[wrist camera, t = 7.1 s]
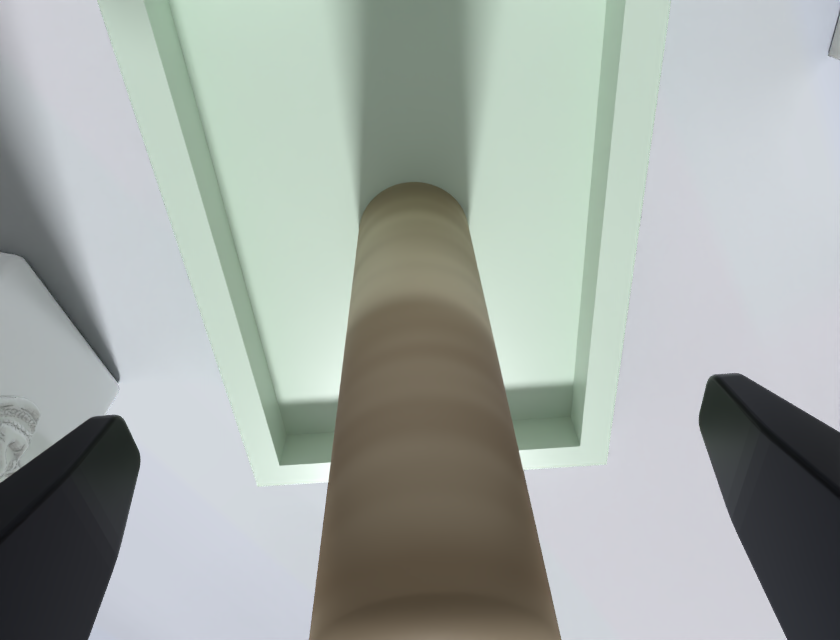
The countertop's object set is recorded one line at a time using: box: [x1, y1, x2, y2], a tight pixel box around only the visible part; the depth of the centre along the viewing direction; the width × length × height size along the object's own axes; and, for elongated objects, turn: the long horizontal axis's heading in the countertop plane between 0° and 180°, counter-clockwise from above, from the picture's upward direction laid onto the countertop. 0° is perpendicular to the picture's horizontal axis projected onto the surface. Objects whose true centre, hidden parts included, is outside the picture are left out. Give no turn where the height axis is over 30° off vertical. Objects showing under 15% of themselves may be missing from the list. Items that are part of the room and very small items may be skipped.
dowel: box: [309, 182, 561, 640], centre depth 10 cm, size 3×3×10 cm
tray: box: [97, 0, 671, 487], centre depth 14 cm, size 14×10×2 cm
